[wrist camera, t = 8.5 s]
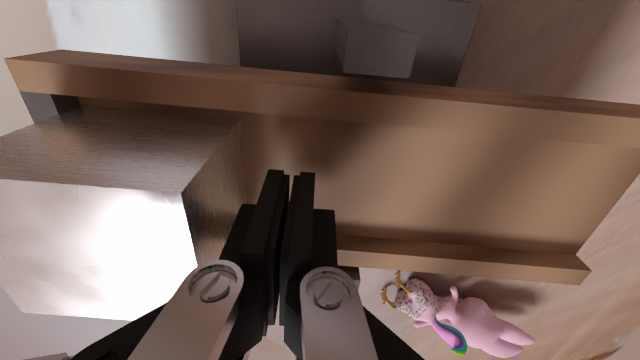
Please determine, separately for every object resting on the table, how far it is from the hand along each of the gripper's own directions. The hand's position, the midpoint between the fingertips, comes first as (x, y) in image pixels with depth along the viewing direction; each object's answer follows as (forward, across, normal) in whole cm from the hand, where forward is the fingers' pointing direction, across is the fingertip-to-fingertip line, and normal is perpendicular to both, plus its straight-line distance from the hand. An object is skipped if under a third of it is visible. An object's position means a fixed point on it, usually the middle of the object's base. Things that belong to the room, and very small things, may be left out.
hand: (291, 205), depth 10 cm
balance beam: (+3, -2, 0) cm, 4 cm away
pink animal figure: (+9, -15, +17) cm, 25 cm away
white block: (+2, +5, 0) cm, 5 cm away
